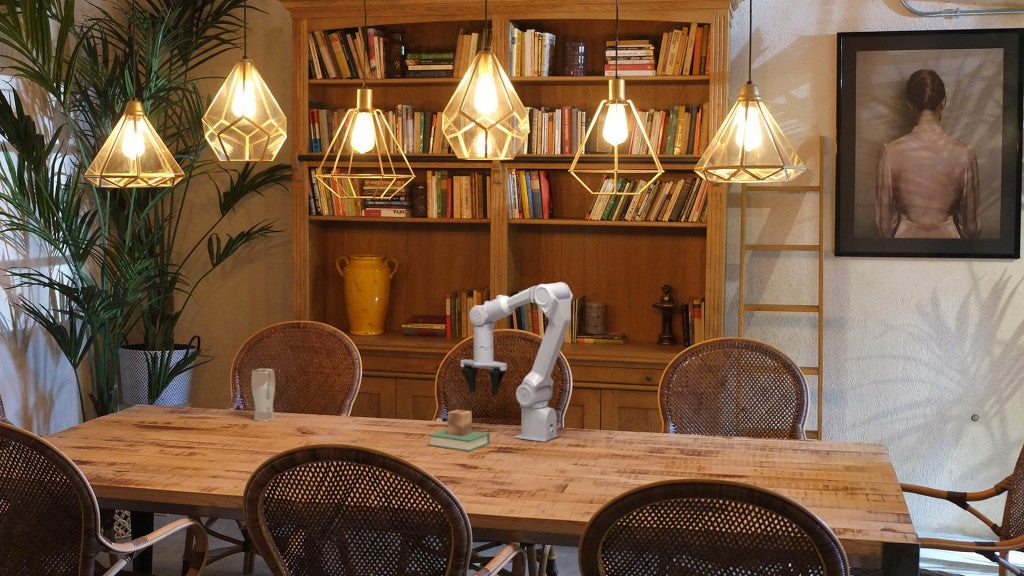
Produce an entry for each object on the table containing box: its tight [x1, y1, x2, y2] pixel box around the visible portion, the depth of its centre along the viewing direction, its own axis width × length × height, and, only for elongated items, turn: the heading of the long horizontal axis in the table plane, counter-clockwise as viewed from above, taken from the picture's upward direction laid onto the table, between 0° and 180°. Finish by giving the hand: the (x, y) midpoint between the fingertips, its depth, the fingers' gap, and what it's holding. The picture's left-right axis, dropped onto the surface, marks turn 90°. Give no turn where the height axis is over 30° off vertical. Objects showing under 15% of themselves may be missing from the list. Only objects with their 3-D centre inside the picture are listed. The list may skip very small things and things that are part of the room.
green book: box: [428, 428, 491, 453], centre depth 284 cm, size 13×10×3 cm
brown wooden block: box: [447, 409, 473, 436], centre depth 284 cm, size 5×5×6 cm
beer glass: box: [251, 367, 276, 422], centre depth 316 cm, size 7×7×15 cm
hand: (483, 393), depth 303 cm, fingers open, 7 cm apart
